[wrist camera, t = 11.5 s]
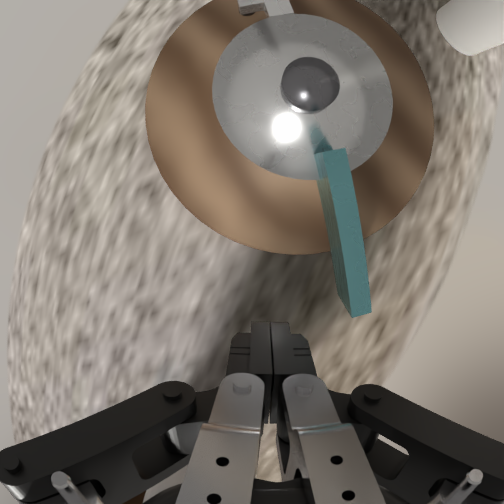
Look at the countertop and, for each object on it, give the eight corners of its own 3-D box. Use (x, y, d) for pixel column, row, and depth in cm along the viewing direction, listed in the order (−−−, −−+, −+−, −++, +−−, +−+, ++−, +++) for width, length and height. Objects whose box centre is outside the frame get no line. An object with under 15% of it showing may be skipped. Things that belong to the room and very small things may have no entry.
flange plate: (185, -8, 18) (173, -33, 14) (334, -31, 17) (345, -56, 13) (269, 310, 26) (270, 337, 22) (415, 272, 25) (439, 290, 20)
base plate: (293, -43, 20) (300, -83, 13) (466, 134, 25) (509, 132, 18) (100, 114, 26) (59, 103, 18) (288, 304, 31) (296, 344, 23)
